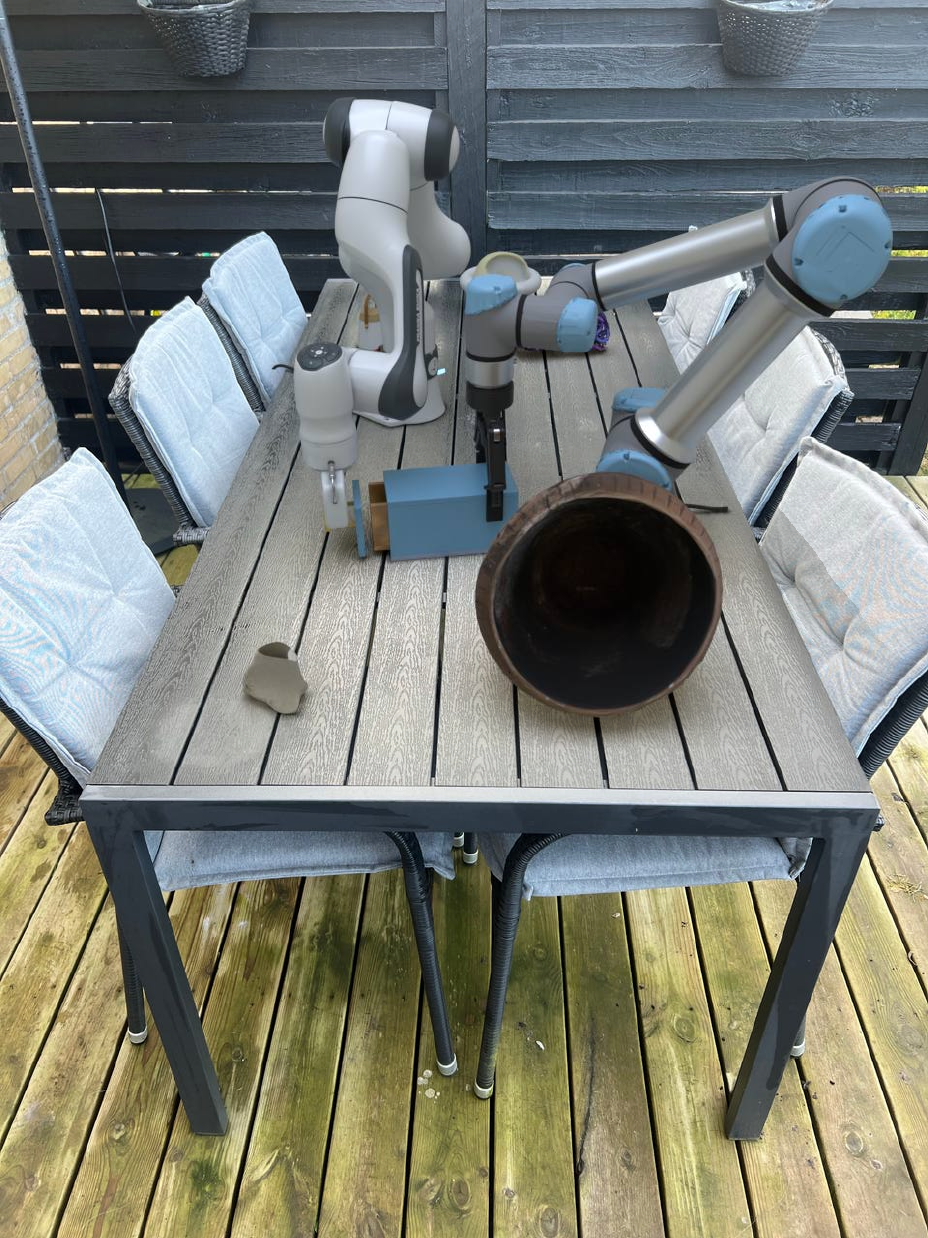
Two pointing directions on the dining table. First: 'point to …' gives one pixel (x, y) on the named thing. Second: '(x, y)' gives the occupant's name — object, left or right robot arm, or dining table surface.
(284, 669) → the grey flared pouch
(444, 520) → the blue open box
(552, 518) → the pot
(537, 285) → the hat
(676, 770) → the dining table surface
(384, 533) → the drawer
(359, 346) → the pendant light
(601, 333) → the purple fibrous block
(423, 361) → the left robot arm
